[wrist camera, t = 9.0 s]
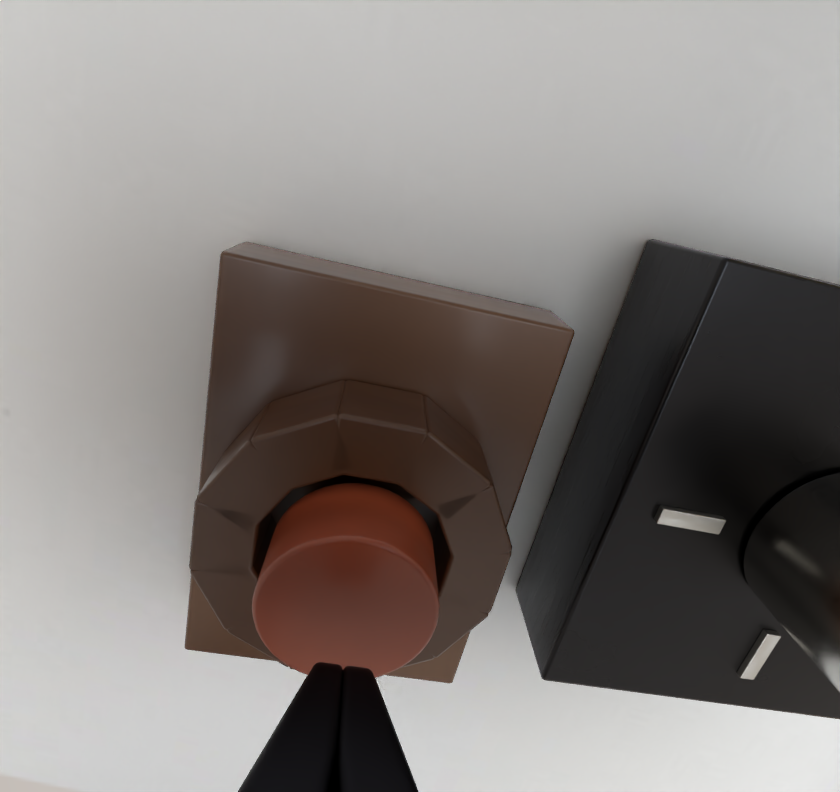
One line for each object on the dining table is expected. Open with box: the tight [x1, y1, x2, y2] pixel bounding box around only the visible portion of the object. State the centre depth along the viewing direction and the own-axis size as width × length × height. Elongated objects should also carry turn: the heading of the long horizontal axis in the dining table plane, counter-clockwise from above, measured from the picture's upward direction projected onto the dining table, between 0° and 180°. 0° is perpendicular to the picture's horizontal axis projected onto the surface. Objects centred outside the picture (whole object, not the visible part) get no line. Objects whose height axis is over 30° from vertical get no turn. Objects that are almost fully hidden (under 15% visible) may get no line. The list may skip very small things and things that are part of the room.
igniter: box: [185, 242, 574, 683], centre depth 12 cm, size 10×7×4 cm
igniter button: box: [252, 483, 440, 678], centre depth 10 cm, size 3×3×2 cm
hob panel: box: [516, 239, 840, 719], centre depth 13 cm, size 10×10×3 cm
